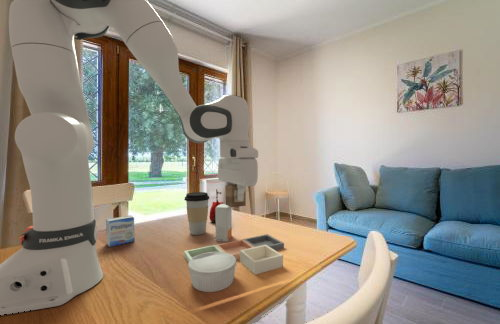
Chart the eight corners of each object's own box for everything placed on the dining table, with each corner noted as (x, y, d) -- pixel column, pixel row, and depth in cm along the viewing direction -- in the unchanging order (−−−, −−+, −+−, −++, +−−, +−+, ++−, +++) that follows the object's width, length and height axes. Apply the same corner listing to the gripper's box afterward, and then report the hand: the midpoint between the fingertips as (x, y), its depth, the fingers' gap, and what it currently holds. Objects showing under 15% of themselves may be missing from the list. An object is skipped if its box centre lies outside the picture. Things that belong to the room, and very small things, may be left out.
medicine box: (109, 247, 78) (108, 221, 78) (106, 244, 81) (105, 218, 81) (135, 241, 83) (134, 216, 83) (131, 238, 87) (130, 214, 86)
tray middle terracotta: (227, 263, 66) (227, 256, 66) (215, 251, 74) (215, 244, 74) (257, 255, 70) (257, 249, 70) (242, 245, 79) (242, 239, 79)
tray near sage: (193, 271, 61) (192, 264, 61) (184, 257, 70) (184, 250, 70) (227, 263, 66) (227, 256, 66) (215, 251, 74) (215, 244, 74)
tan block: (231, 207, 68) (231, 186, 68) (225, 204, 72) (225, 184, 72) (245, 205, 71) (245, 185, 70) (239, 203, 75) (238, 183, 74)
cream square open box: (255, 276, 58) (254, 262, 58) (239, 263, 66) (239, 250, 66) (283, 268, 62) (282, 255, 62) (265, 256, 70) (265, 244, 70)
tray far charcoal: (257, 256, 70) (257, 249, 70) (242, 245, 79) (242, 239, 79) (284, 249, 75) (283, 243, 75) (267, 239, 83) (267, 234, 83)
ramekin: (216, 266, 64) (216, 247, 64) (246, 281, 56) (246, 259, 56) (179, 283, 56) (178, 261, 56) (207, 303, 48) (207, 278, 48)
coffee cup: (215, 231, 93) (214, 192, 93) (197, 238, 86) (197, 196, 85) (197, 227, 99) (196, 191, 98) (179, 233, 91) (178, 194, 90)
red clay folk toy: (227, 219, 110) (227, 187, 109) (224, 224, 103) (224, 189, 102) (211, 219, 110) (210, 187, 110) (207, 223, 103) (206, 189, 103)
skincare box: (227, 242, 81) (226, 207, 80) (215, 242, 82) (214, 207, 81) (232, 236, 87) (231, 203, 86) (221, 236, 88) (220, 203, 87)
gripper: (212, 152, 79) (213, 194, 79) (240, 151, 61) (240, 205, 61) (230, 152, 82) (230, 192, 82) (261, 151, 64) (262, 202, 64)
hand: (235, 198), depth 71 cm, fingers closed on tan block, 5 cm apart
